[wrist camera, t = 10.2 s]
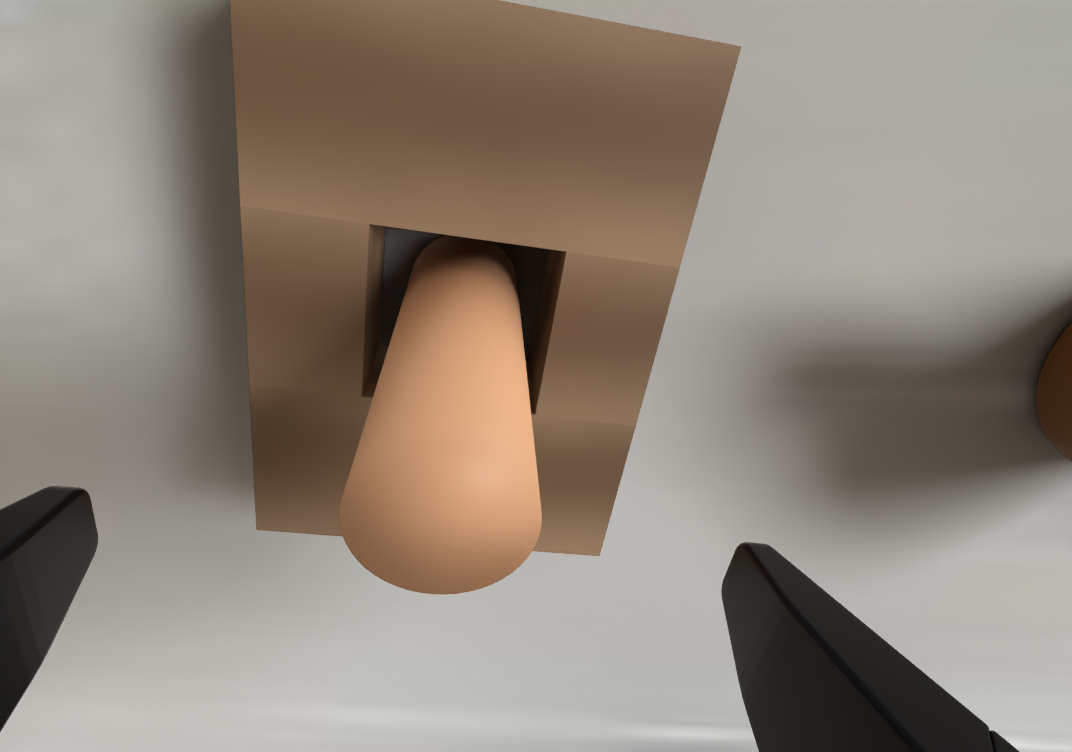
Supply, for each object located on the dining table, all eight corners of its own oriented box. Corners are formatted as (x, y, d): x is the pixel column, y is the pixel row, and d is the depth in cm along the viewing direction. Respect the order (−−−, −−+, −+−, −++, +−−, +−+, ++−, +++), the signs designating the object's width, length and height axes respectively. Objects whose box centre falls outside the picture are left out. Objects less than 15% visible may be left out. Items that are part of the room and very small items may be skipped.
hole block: (586, 493, 22) (599, 556, 20) (285, 466, 21) (256, 529, 18) (699, 42, 16) (740, 46, 13) (274, -39, 15) (226, -52, 12)
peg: (508, 338, 19) (524, 600, 11) (407, 326, 19) (337, 587, 10) (524, 241, 18) (557, 450, 9) (414, 225, 18) (341, 428, 9)
